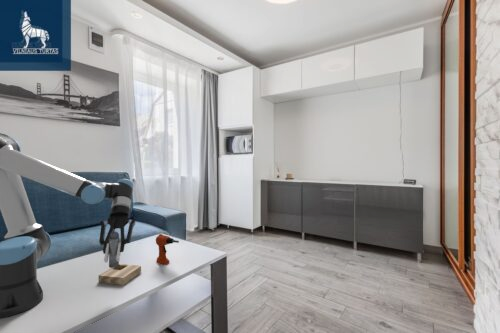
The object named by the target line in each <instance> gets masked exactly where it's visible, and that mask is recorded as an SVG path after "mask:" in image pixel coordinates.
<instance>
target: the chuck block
mask: <svg viewBox="0 0 500 333" xmlns="http://www.w3.org/2000/svg"><path fill="white" fill-rule="evenodd" d="M141 273H142V266H141V265H137V264H127V263H126V264H124V263H119V266H117V267H114V268H108V269H107V270H106V271H104V272H102V273H100V274H99V275H98V283H101V284H112V285H119V286H120V285H121V286H124V285H125V284H126V283H128V282H129V281H131V280H132V279H133V278H135V277H137V276H138V275H139V274H141Z"/></svg>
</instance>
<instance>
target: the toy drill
mask: <svg viewBox="0 0 500 333" xmlns="http://www.w3.org/2000/svg"><path fill="white" fill-rule="evenodd" d="M179 242H180V241H179V240H175V239H174V238H172V237H170V236H168V235H165V234H162V233H159V234H158V235H157V236H156V237H155V244H156V245H157V246H158V257H156V261H155V262H156V263H157V264H158V265H161V266H165V265H168V264H169V263H170V260H169V259H168V257H167V249H166V245H170V244H173V243H177V244H179Z"/></svg>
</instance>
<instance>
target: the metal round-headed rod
mask: <svg viewBox="0 0 500 333" xmlns="http://www.w3.org/2000/svg"><path fill="white" fill-rule="evenodd" d="M119 236H120V234H119V232H117V231H114V232H112V233H111V234H110V239H109V257H108V268H109V269H111V268H114V267H117V266H119V264H120V260H119V261H117V259H116V257H117V250H118V244H119V242H120V237H119Z"/></svg>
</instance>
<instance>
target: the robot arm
mask: <svg viewBox="0 0 500 333" xmlns="http://www.w3.org/2000/svg"><path fill="white" fill-rule="evenodd" d="M21 151H22V150H21V145H20V143H19V142H18V141H17V140H16V139H14V138H13V137H12V136H9V135H8V134H5V133H2V132H0V213H1V215H2V218H3V220H4V223H5V226H6V229H7V233H6V234H5V235H4V237H3V238H4V240H2V241H0V319H3V318H7V317H12V316H15V315H18V314H20V313H21V314H22V313H23V312H25V311H28V310H30V309H32V308H34V307H36V306H38V305H39V304H40V303H41V302H42V300H43V299H44V290H43V289H42V287H41V285H40V283H39V281H38V279H37V278H38V276H37V275H38V274H37V270H38V268H37V266H38V265H37V263H38V262H39V261H40V260H41V259H42V258H43V257H44V256H46V255H47V253H48V252H49V250H50V249H51V247H52V238H51V236H50V234H49V233H48V232H47V231H45V229H44V227H43V226H44V225H42V224H40V223H37V220H36V218H35V217H36V216H35V215H34V211H33V209H32V206H31V203H30V200H29V197H28V195H27V191H26V189H25V185H24V182H23V180H22V177H23V178H25V179H29V180H31V181H34V182H37V183H39V184H40V185H41V184H42V185H45V186H46V187H49V188H52V189H55V190H58V191H60V192H63V193H66V194H68V195H71V196H73V197H76V198H78V199H81V200H82V201H83V202H84V203H85V204H88V205H95V204H98V203H101V202H102V201H103V200H112V203H111V206H110V207H111V208H110V212H109V217H108V218H107V220H104V221H103V220H100V222H99V223H100V234H99V240H98V242H99V245H100V246H103V248H102V253H103V255H104V258H103V261H104V263H106V264H107V263H109V239H110V234H111V233H112V232H116V230H117V229H119V230H120V241H119V244H118V250H117V257H116V259H117V261H119V262H120V259H121V253H124V251H125V246H126V244H129V243H131V239H132V234H133V229H134V227H135V225H136V219H130V213H131V204H132V197H133V192H134V184H133V182H132V181H131V180H130V179H127V178H122V179H118V180H117V181H116V182H114V183H113V182H103V181H95V180H92V181H91V180H88V179H86V178H83V177H81V176H79V175H77V174H75V173H72V172H69V171H67V170H65V169H62V168H59V167H57V166H54V165H52V164H50V163H48V162H45V161H43V160H40V159H38V158H36V157H33V156H31V155H28V154H27V153H23V152H21ZM127 224H129V226H128V230H127V235H125V227H126V226H127ZM108 225H109V229H108V231H107V235H106V227H107V226H108ZM125 237H126V238H125Z"/></svg>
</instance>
